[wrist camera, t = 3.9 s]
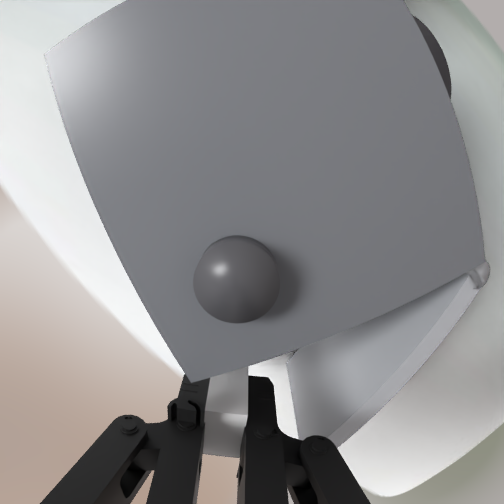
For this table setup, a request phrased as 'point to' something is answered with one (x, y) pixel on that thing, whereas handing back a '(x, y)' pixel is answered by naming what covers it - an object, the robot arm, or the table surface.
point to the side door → (373, 360)
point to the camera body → (269, 166)
